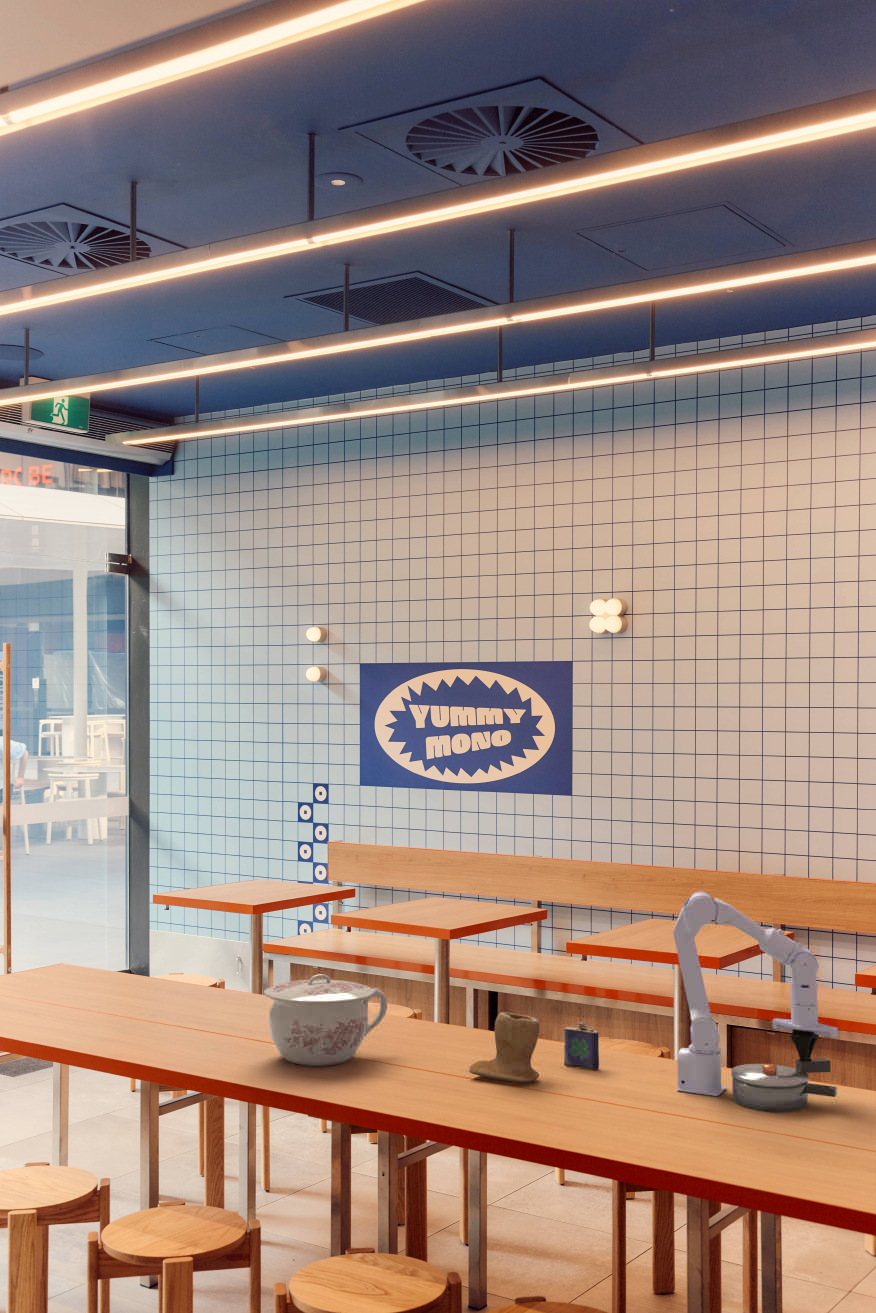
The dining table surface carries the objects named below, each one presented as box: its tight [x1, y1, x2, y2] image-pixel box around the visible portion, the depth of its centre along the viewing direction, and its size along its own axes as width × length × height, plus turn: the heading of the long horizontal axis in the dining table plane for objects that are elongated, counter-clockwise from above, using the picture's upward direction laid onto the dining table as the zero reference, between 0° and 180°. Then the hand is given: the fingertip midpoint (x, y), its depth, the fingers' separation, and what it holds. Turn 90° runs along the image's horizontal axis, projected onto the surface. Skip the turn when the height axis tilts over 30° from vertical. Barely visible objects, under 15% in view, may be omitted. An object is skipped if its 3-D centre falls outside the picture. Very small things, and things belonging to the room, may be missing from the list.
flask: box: [563, 1021, 600, 1071], centre depth 297 cm, size 9×3×11 cm, turn 55°
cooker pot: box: [731, 1076, 838, 1113], centre depth 266 cm, size 22×16×5 cm
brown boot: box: [468, 1012, 540, 1083], centre depth 285 cm, size 15×12×15 cm
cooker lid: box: [730, 1057, 831, 1088], centre depth 269 cm, size 22×16×3 cm
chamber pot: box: [263, 973, 388, 1067], centre depth 301 cm, size 28×28×21 cm
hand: (805, 1065), depth 273 cm, fingers closed
